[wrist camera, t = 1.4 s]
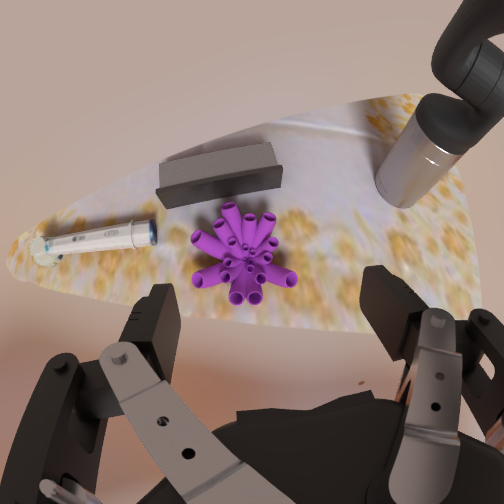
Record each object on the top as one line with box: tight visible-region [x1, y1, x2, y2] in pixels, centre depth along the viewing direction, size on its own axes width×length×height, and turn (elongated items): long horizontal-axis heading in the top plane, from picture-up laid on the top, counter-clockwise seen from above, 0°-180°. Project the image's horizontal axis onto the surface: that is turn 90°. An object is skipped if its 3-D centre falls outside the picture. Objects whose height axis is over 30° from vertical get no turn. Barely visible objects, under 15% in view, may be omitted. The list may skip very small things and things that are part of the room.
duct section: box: [156, 142, 283, 209], centre depth 44 cm, size 19×6×6 cm, turn 101°
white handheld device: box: [29, 219, 157, 267], centre depth 42 cm, size 5×7×25 cm
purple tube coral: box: [191, 202, 298, 305], centre depth 39 cm, size 11×15×10 cm
